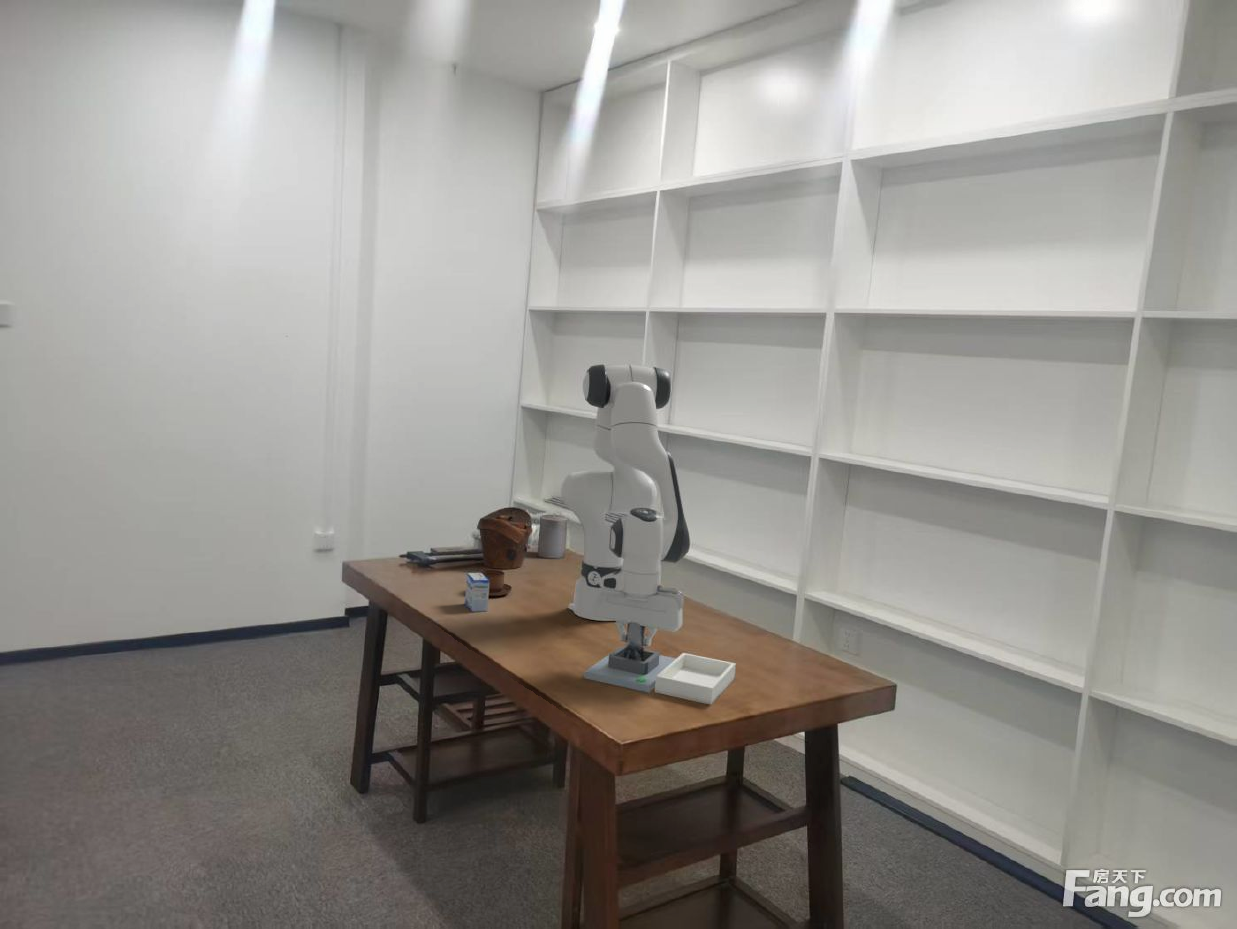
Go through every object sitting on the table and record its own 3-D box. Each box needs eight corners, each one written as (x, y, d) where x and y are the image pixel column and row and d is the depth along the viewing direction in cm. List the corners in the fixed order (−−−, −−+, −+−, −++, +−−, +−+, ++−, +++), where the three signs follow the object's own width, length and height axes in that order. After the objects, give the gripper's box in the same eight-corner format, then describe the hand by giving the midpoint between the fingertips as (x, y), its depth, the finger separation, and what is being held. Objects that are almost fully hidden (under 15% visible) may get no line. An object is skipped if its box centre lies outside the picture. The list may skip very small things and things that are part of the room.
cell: (629, 654, 200) (632, 614, 199) (645, 657, 198) (648, 617, 197) (622, 658, 196) (625, 618, 195) (639, 662, 194) (642, 621, 193)
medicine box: (464, 603, 241) (466, 572, 240) (480, 603, 243) (482, 572, 242) (471, 612, 234) (473, 580, 233) (487, 611, 236) (489, 579, 235)
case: (482, 573, 276) (485, 516, 274) (469, 558, 295) (472, 505, 293) (537, 572, 283) (541, 516, 281) (521, 557, 301) (524, 505, 299)
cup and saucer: (465, 588, 257) (466, 568, 256) (505, 587, 262) (506, 567, 261) (474, 600, 246) (475, 578, 245) (516, 598, 251) (517, 577, 250)
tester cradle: (619, 653, 210) (620, 636, 209) (679, 665, 204) (680, 648, 203) (583, 678, 191) (585, 660, 191) (648, 692, 186) (650, 674, 185)
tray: (681, 667, 203) (683, 652, 202) (734, 678, 198) (735, 663, 198) (654, 692, 186) (656, 676, 186) (711, 704, 181) (712, 688, 181)
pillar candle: (549, 551, 314) (552, 510, 313) (570, 556, 309) (573, 514, 307) (531, 555, 306) (534, 512, 305) (553, 560, 301) (556, 517, 299)
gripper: (689, 587, 194) (684, 648, 196) (604, 572, 202) (599, 631, 203) (680, 593, 188) (674, 656, 190) (592, 578, 196) (588, 638, 198)
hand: (635, 643), depth 197 cm, fingers closed on cell, 4 cm apart
